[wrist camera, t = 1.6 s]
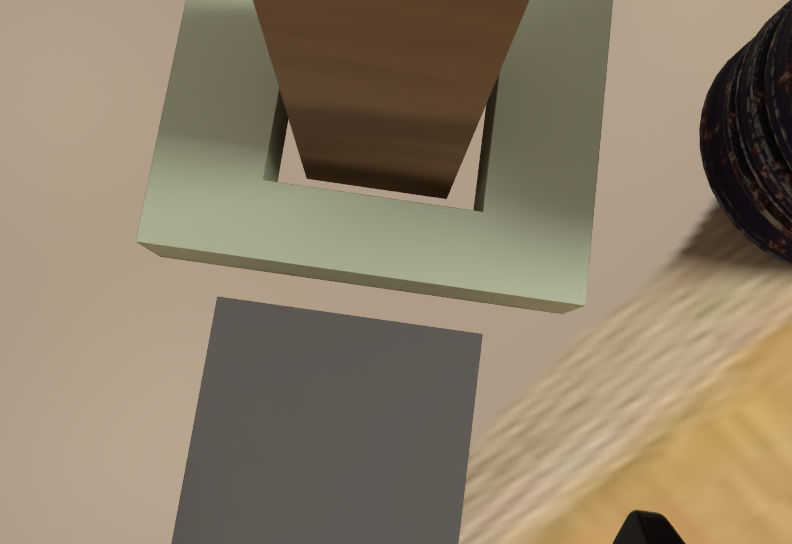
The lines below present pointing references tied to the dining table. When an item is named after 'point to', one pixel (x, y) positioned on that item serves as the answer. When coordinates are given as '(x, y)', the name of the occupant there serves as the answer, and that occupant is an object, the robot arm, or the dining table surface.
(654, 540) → the robot arm
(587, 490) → the dining table surface
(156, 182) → the square socket block
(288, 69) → the wooden block
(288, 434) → the rubber mat
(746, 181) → the storage jar
